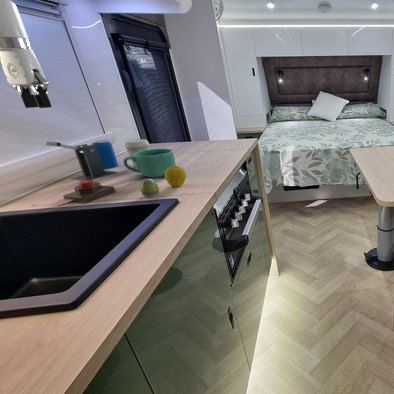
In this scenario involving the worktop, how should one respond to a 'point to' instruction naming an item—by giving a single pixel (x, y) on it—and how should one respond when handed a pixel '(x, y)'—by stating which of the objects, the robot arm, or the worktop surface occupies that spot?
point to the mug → (152, 162)
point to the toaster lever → (64, 146)
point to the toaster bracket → (90, 163)
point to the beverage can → (106, 153)
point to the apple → (175, 175)
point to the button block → (89, 193)
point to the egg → (149, 188)
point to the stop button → (86, 183)
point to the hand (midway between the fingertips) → (38, 106)
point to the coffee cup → (136, 147)
